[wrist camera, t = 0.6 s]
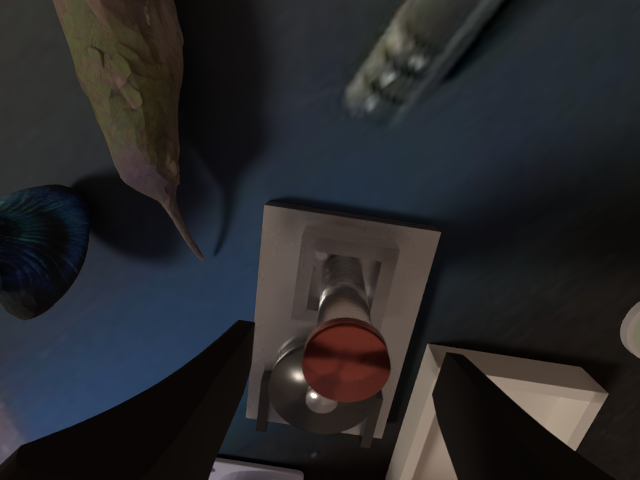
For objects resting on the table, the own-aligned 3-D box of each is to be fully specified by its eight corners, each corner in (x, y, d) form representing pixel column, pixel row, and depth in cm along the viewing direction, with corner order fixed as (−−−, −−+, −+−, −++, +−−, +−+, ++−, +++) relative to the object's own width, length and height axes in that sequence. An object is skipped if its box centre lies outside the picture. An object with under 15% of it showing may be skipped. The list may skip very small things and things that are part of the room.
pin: (363, 301, 19) (380, 408, 12) (312, 293, 19) (297, 395, 12) (374, 254, 18) (399, 338, 11) (319, 245, 18) (308, 323, 11)
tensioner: (379, 423, 24) (385, 463, 21) (250, 404, 24) (238, 440, 21) (434, 225, 19) (452, 242, 16) (268, 200, 19) (256, 212, 16)
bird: (2, -328, 12) (-206, -613, 8) (126, -356, 12) (-12, -676, 7) (164, 260, 20) (112, 299, 16) (241, 254, 20) (211, 293, 15)
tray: (511, 498, 26) (527, 531, 24) (385, 478, 26) (389, 510, 24) (581, 367, 21) (608, 394, 19) (427, 343, 21) (437, 367, 19)
